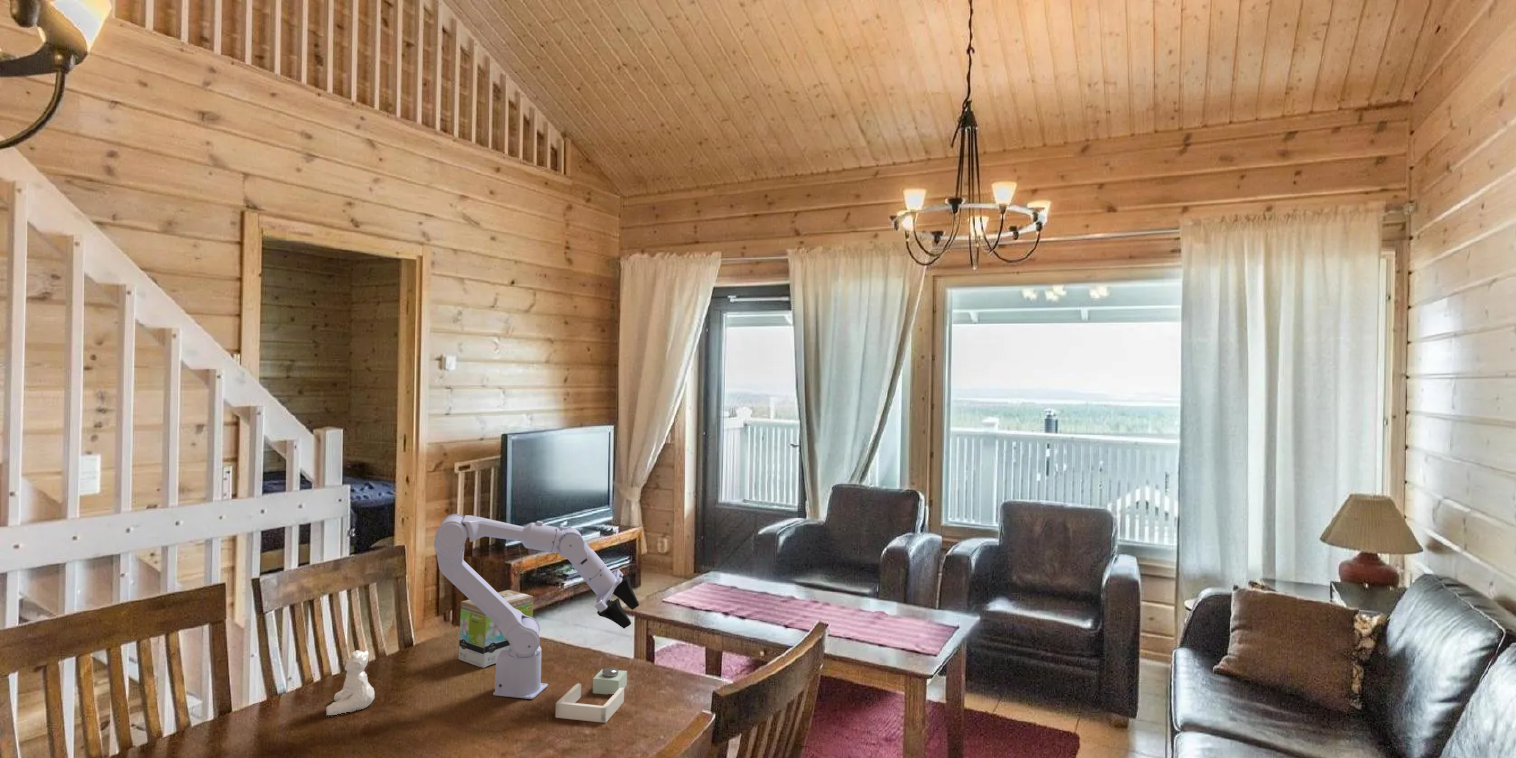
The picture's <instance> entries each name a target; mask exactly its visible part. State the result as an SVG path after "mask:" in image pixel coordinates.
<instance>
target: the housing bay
mask: <svg viewBox="0 0 1516 758" xmlns="http://www.w3.org/2000/svg"><path fill="white" fill-rule="evenodd" d="M581 698H582V683H576V684H575V685H574V686H573V687H572V688H570V689H569V690H568V691H567V692H566V693H565V694H564V695H563V696H562V697H560V698H559V700H557V701H556V702H555V714H554V715H555V718H557V719H559V718H560V719H565V720H566V719H567V720H575V721H576V720H577V721H586V722H594V723H603V724H604V723H605V724H606V723H607V722H608V720H610V719H611V717H612V716H613V715H614V714H615V712H617V710H618V709H619V708H620V707H621V706H622V705H623V703H624V702H625V688H619V689H618V690H617V691H616V692H615V694H614V695H612V696H611V697H610V698H609V699H608V700H607V701H606V702H605V703H604V704H603V705H597V704H588V703H578V702H577V701H579V700H580V699H581ZM621 704H622V705H621Z"/></svg>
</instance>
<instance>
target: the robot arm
mask: <svg viewBox="0 0 1516 758" xmlns="http://www.w3.org/2000/svg"><path fill="white" fill-rule="evenodd" d="M484 537H488V538H493V539H494V538H495V539H503V540H510V541H516V542H521V544H522V545H523V547H524V548H525V549H529V550H535V551H539V552H540V551H541V552H547V553H553V554H554V553H559V555H560V556H561V557H562V558H563V559H566V560H567V561H569V563H571V565H572V567H573V569H574V570H575V572H577V573H578V574H579V576H580V577H581V578H582V579H583V580H584V582H585V583H586V584H587V585H588V587H590V589H591V590H592V591H593V592H594V594H595V595H596V597H595V598H596V600H595V605H594V608H595V609H596V610H597V611H596V614H597V615H598V616H599V617H602V618H605V619H608V620H610V621H612V622H614V623H615V624H617V625H618V626H620V627H621V628H622V629H626V628H627V627H630V626H631V624H632V622H631V619H630V618H629V616H628V615H627V614H626V612H625V611H624V609H623V606H622V604H621V601H622V602H623V603H624V604H625V605H626V606H627V608H629V609H630V610H635V609H636V608H638V607H639V606H640V603H639V600H638V598H637V597H636V594H635V592H634V589H633V587H632V583H631V578H630V576H629V575H624V573H623V572H622V571H621V570H620V569H619V568H618V569H615V570H614V571H613V572H612V570H610V568H609V567H608V566H607V565H606V564H605V563H604V561H603V560H602V558H600V556H599V555H598V554H597V553H596V552H595V550H594V549H592V548H591V546H590V545H589V544H588V543H586V542H585V541H584V539H583V536H582V534H581V532H579V530H577V529H576V528H573V527H572V526H567V527H565V526H563V525H559V527H557V526H553V525H552V526H551V525H548V524H544V522H543V521H542V520H541V521H540V520H537V521H536V522H530V523H528V524H527V525H525V526H522V525H517V524H513V523H508V522H503V521H500V520H495V519H491V518H485V517H482V516H476V515H469V514H468V515H466V514H465V515H462V514H459V513H452V514H449V515H447V516H445V517H444V518H443V519H442V521H441V523H440V525H439V526H438V527H437V530H436V531H435V536H434V541H433V548H434V549H435V550H434V551H435V553H436V554H435V555H436V559H437V565H438V569H439V571H440V573H441V574H442V575H443V576H444V577H445V578H446V579H447V580H448V581H449V582H450V583H451V584H452V585H454V586H455V587H456V588H457V589H458V590H459V591H460V592H461V593H462V594H463V595H464V596H465V597H467V600H471V601H472V602H473V603H474V604H475V605H476V606H477V607H478V608H479V609H480V610H481V611H482V612H483V613H484V614H485V615H486V616H487V617H489V618H490V619H491V620H492V621H493V622H494V623H495V624H496V625H497V626H498V627H499V629H500V631H501V633H502V634H503V636H504V637H505V638H506V639H507V640H508V642H509V643H510V648H509V649H508V650H503V651H501V652H500V654H499V655H498V658H497V661H496V663H495V672H494V673H495V675H494V676H495V677H494V678H495V679H494V691H493V693H492V694H493V696H497V697H505V698H506V697H507V698H508V697H509V698H518V699H526V700H527V699H528V700H533V699H535V698H536V697H537V696H538V695H540V694H541V693H542V692H543V691H544V690H545V689H546V688H547V687H548V686H549V684H548V683H543V682H542V649H543V648H542V647H541V645H540V643H541V638H540V630H541V629H540V628H541V627H540V623H539V622H538V620H536V618H534V617H533V618H532V617H529V616H526V615H524V614H523V613H522V612H521V611H519V610H517V609H515V608H513V607H512V606H511V605H510V604H509V603H508V602H507V601H506V600H505V599H504V598H503V597H502V596H501V595H500V594H499V593H498V592H497V591H496V590H495V589H494V587H492V586H491V585H490V584H489V583H488V582H487V580H485V579H484V577H482V576H481V575H479V573H478V572H477V571H475V569H474V568H472V566H471V565H469V564H468V563H467V562H466V561H465V560H464V555H465V544H466V542H467V539H468V538H469V543H472V542H475V541H477V540H479V539H482V538H484ZM623 576H624V577H623ZM612 595H614V596H615V597H617V598H615V600H611V597H612ZM620 600H621V601H620Z"/></svg>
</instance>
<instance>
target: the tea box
mask: <svg viewBox="0 0 1516 758" xmlns="http://www.w3.org/2000/svg"><path fill="white" fill-rule="evenodd" d="M497 593H499V594H500V595H501V596H502V597H503V598H504V599H505V600H506V601H507V602H508V603H509V604H510V605H511V606H512V607H513V608H515V609H517V610H519V611H521V612H522V613H523V614H524V615H526V616H529V617H532V618H534V615H533V614H534V596H533V595H531V594H530V595H529V594H527V593H523V592H519V591H515V590H512V589H511V590H510V589H506V590H502V591H498V592H497ZM459 617H460V619H459V640H458V641H459V644H458V660H459V661H462V662H464V663H468V664H471V665H473V666H475V667H479V668H481V669H484V668H486V667H490V666H491V665H492V666H493V665H494V664H495V665H496V661H497V658H498V655H499V654H500V652H501V651H503V650H508V649H509V648H510V643H509V642H508V640H507V639H506V638H505V637H504V636H503V634H502V633H501V631H500V629H499V627H498V626H497V625H496V624H495V623H494V622H493V621H492V620H491V619H490V618H489V617H487V616H486V615H485V614H484V613H483V612H482V611H481V610H480V609H479V608H478V607H477V606H476V605H475V604H474V603H473V602H472V601H471V600H469V599H466V600H462V601H461V602H460V616H459Z"/></svg>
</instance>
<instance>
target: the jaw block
mask: <svg viewBox="0 0 1516 758" xmlns="http://www.w3.org/2000/svg"><path fill="white" fill-rule="evenodd" d="M626 685H628V671H627V670H623V669H621V670H619V669H618V668H617V667H604V668H601V670H600V671H599V672H598V673H596V675H595V676H594V677H593V678H592V694H600V695H608V694H615V692H616V691H617V690H618V689H619V688H624V689H625V688H626V687H627V686H626ZM625 686H626V687H625Z"/></svg>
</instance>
